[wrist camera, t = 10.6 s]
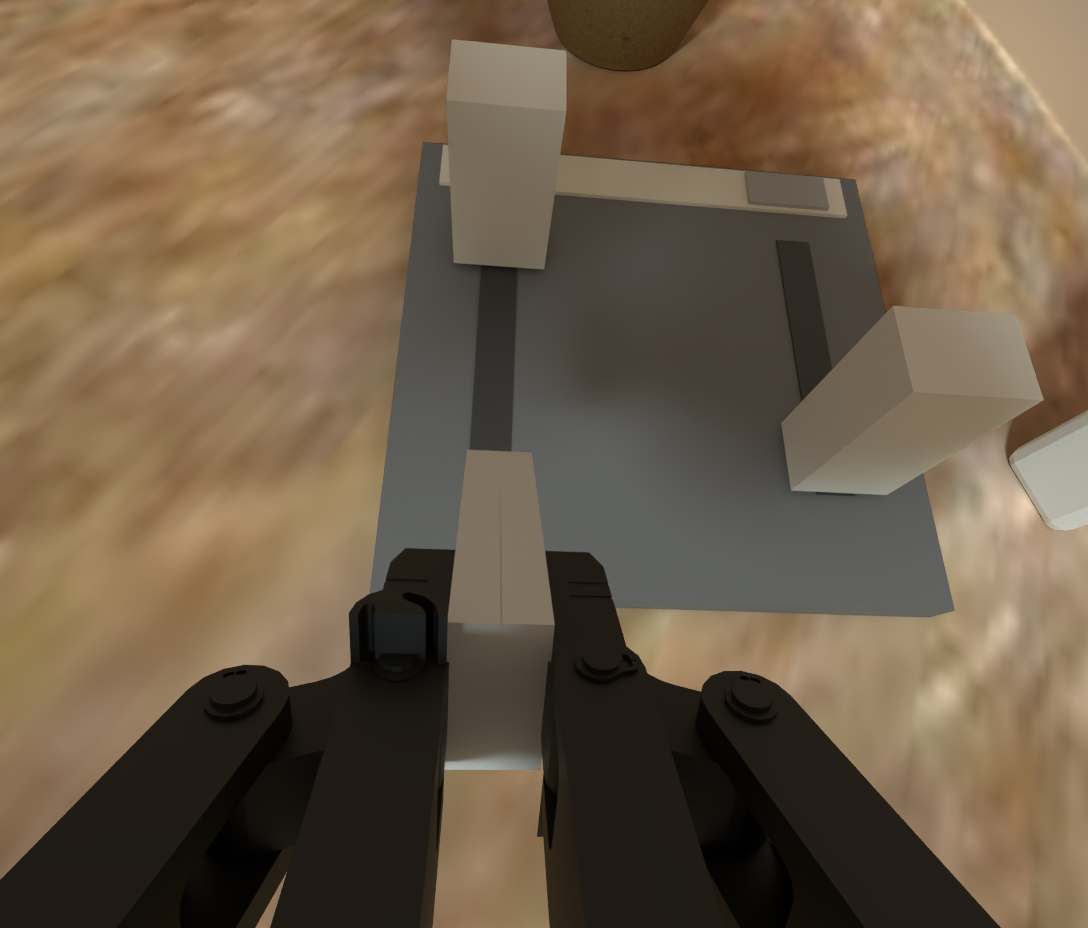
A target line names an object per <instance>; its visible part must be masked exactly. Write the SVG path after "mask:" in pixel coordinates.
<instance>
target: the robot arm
mask: <svg viewBox="0 0 1088 928" xmlns="http://www.w3.org/2000/svg"><path fill="white" fill-rule="evenodd" d="M349 629H350V652H351V664H350V667H349V668H348V669H346V670H345V671H343V672H341V673H339V674H337V675H335V676H333V677H330V678H327V679H324V680H320V681H317V682H313V683H308V684H303V685H298V686H294V687H289V685H288V681H287V680H286V678H285V677H284V676H283V675H282V674H281V673H280V672H279V671H276V670H274V669H271V668H268V667H266V666H258V665H242V666H236V667H231V668H226V669H222V670H220V671H218V672H215V673H213V674H211V675H209V676H206V677H204V678H202V679H201V680H200V681H199V682H197V683H196V684H195V685H193V686H192V687H191V688H189V689H188V690H187V691H186V692H185V693H184V694H183V695H182V696H181V697H180V698H179V699H178V700H177V701H176V702H175V703H174V704H173V705H172V706H171V707H170V708H169V709H168V710H167V711H166V712H165V713H164V714H163V715H162V716H161V717H160V718H159V719H158V720H157V721H156V722H155V723H154V724H153V725H152V726H151V727H150V728H149V729H148V730H147V731H146V732H145V733H144V735H143V736H142V737H141V738H140V739H139V740H138V741H137V742H136V743H135V744H134V745H133V746H132V747H131V748H130V749H129V750H128V751H127V752H126V753H125V754H124V755H123V756H122V757H121V758H120V759H119V760H118V761H117V762H116V763H115V764H114V765H113V766H112V767H111V768H110V769H109V770H108V771H107V772H106V773H105V774H104V775H103V776H102V777H101V778H100V779H99V780H98V781H97V782H96V783H95V784H94V785H93V786H92V787H91V788H90V789H89V790H88V791H87V792H86V793H85V794H84V795H83V796H82V797H81V798H80V800H79V801H78V802H77V803H76V804H75V805H74V806H73V807H72V808H71V809H70V810H69V811H68V812H67V813H66V814H65V815H64V816H63V817H62V818H61V819H60V820H59V821H58V822H57V823H56V824H55V825H54V826H53V827H52V828H51V829H50V830H49V831H48V832H47V833H46V834H45V835H44V836H43V837H42V838H41V839H40V840H39V841H38V842H37V843H36V844H35V845H34V846H33V847H32V848H31V849H30V850H29V851H28V852H27V853H26V854H25V855H24V856H23V857H22V858H21V859H20V860H19V861H18V862H17V863H16V865H15V866H14V867H13V868H12V869H11V870H10V871H9V872H8V873H7V874H6V875H5V876H4V877H3V878H2V879H1V880H0V928H255V927H256V925H257V923H258V922H259V920H260V918H261V916H262V915H263V913H264V911H265V909H266V908H267V906H268V904H269V902H270V901H271V899H272V897H273V895H274V894H275V892H276V890H277V888H278V886H279V885H280V883H281V881H282V879H283V878H284V876H285V874H286V872H287V874H286V878H285V881H284V884H283V887H282V891H281V894H280V897H279V900H278V904H277V907H276V910H275V914H274V917H273V920H272V923H271V927H270V928H432V926H433V914H434V902H435V891H436V879H437V867H438V855H439V844H440V832H441V820H442V808H443V787H444V770H540V768H541V758H543V771H544V775H543V785H542V795H541V804H540V814H539V824H538V833H537V837H544V851H545V866H546V880H547V895H548V909H549V924H550V928H1000V926H999V925H998V924H997V923H996V922H995V921H994V920H993V919H992V918H991V917H990V915H989V914H988V913H987V912H986V911H985V910H984V909H983V908H982V907H981V905H980V904H979V903H978V902H977V901H976V900H975V899H974V898H973V897H972V896H971V894H970V893H969V892H968V891H967V890H966V889H965V888H964V887H963V886H962V884H961V883H960V882H959V881H958V880H957V879H956V878H955V877H954V876H953V875H952V873H951V872H950V871H949V870H948V869H947V868H946V867H945V866H944V865H943V863H942V862H941V861H940V860H939V859H938V858H937V857H936V856H935V855H934V854H933V852H932V851H931V850H930V849H929V848H928V847H927V846H926V845H925V844H924V842H923V841H922V840H921V839H920V838H919V837H918V836H917V835H916V834H915V833H914V831H913V830H912V829H911V828H910V827H909V826H908V825H907V824H906V823H905V821H904V820H903V819H902V818H901V817H900V816H899V815H898V814H897V813H896V812H895V810H894V809H893V808H892V807H891V806H890V805H889V804H888V803H887V802H886V800H885V799H884V798H883V797H882V796H881V795H880V794H879V793H878V792H877V791H876V789H875V788H874V787H873V786H872V785H871V784H870V783H869V782H868V781H867V779H866V778H865V777H864V776H863V775H862V774H861V773H860V772H859V771H858V770H857V768H856V767H855V766H854V765H853V764H852V763H851V762H850V761H849V760H848V758H847V757H846V756H845V755H844V754H843V753H842V752H841V751H840V750H839V749H838V747H837V746H836V745H835V744H834V743H833V742H832V741H831V740H830V739H829V737H828V736H827V735H826V734H825V733H824V732H823V731H822V730H821V729H820V728H819V726H818V725H817V724H816V723H815V722H814V721H813V720H812V719H811V718H810V716H809V715H808V714H807V713H806V712H805V711H804V710H803V709H802V708H801V707H800V705H799V704H798V703H797V702H796V701H795V700H794V699H793V698H792V697H791V696H790V695H789V694H788V693H787V692H786V691H785V690H783V689H782V688H781V687H780V686H779V685H777V684H776V683H774V682H772V681H770V680H768V679H766V678H764V677H762V676H760V675H756V674H751V673H747V672H743V671H723V672H721V673H718V674H715V675H712V676H710V678H709V679H708V680H707V681H706V682H705V683H704V684H703V687H702V691H701V692H700V691H696V690H692V689H688V688H684V687H680V686H676V685H673V684H670V683H667V682H664V681H661V680H659V679H657V678H655V677H653V676H651V675H649V674H648V673H647V672H646V668H645V666H644V664H643V663H642V661H641V659H640V658H639V656H638V655H637V654H635V653H634V652H633V651H632V650H630V649H629V648H628V647H626V644H625V640H624V637H623V633H622V630H621V626H620V623H619V619H618V616H617V612H616V609H615V605H614V602H613V600H612V595H611V591H610V587H609V586H608V580H607V577H606V573H605V570H604V567H603V566H602V565H601V564H600V563H599V562H598V561H597V560H596V559H595V558H594V557H593V556H592V555H591V554H590V553H589V552H565V551H545V548H544V540H543V533H542V525H541V518H540V510H539V503H538V495H537V488H536V480H535V473H534V465H533V457H532V453H530V452H509V451H487V450H467V455H466V463H465V472H464V481H463V489H462V498H461V506H460V515H459V524H458V532H457V541H456V550H449V549H419V548H405V549H404V550H403V551H402V552H401V553H400V554H399V555H398V556H396V557H395V558H394V559H393V560H392V561H391V562H390V565H389V569H388V572H387V576H386V582H385V583H384V586H383V590H381V591H378V592H374V593H371V594H369V595H367V596H366V597H364V598H363V599H361V600H359V601H358V602H356V604H355V605H354V607H353V608H352V609H351V611H350V612H349Z"/></svg>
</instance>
